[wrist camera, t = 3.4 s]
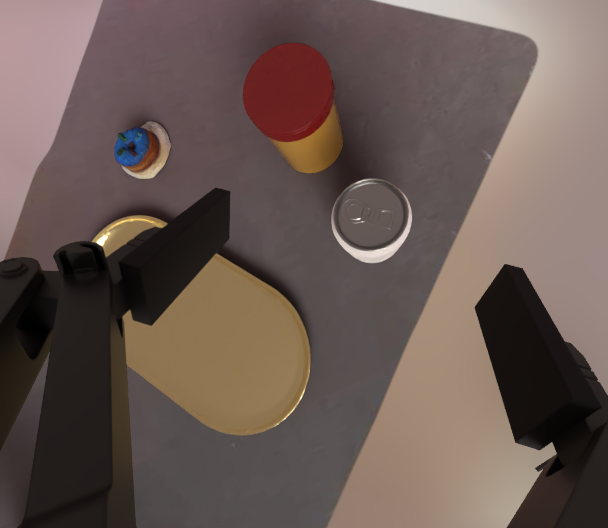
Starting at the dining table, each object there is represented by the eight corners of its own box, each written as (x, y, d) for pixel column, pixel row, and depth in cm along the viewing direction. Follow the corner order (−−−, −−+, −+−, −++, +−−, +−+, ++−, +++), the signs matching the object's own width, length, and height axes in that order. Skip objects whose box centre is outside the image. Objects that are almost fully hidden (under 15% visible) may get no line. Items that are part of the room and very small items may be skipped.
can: (352, 201, 36) (340, 164, 24) (408, 214, 34) (425, 181, 22) (336, 254, 36) (318, 244, 24) (392, 270, 34) (400, 267, 23)
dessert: (143, 191, 41) (99, 160, 37) (139, 176, 46) (100, 147, 42) (183, 148, 41) (143, 111, 37) (175, 137, 46) (139, 104, 42)
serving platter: (123, 194, 43) (114, 191, 41) (342, 326, 35) (341, 328, 34) (67, 309, 44) (56, 310, 43) (265, 461, 37) (261, 469, 35)
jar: (340, 105, 36) (326, 38, 26) (346, 167, 36) (334, 125, 26) (279, 118, 38) (243, 60, 28) (284, 178, 38) (249, 141, 27)
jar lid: (331, 47, 27) (328, 31, 26) (338, 133, 27) (336, 123, 25) (247, 68, 29) (239, 55, 27) (253, 149, 29) (246, 141, 27)
